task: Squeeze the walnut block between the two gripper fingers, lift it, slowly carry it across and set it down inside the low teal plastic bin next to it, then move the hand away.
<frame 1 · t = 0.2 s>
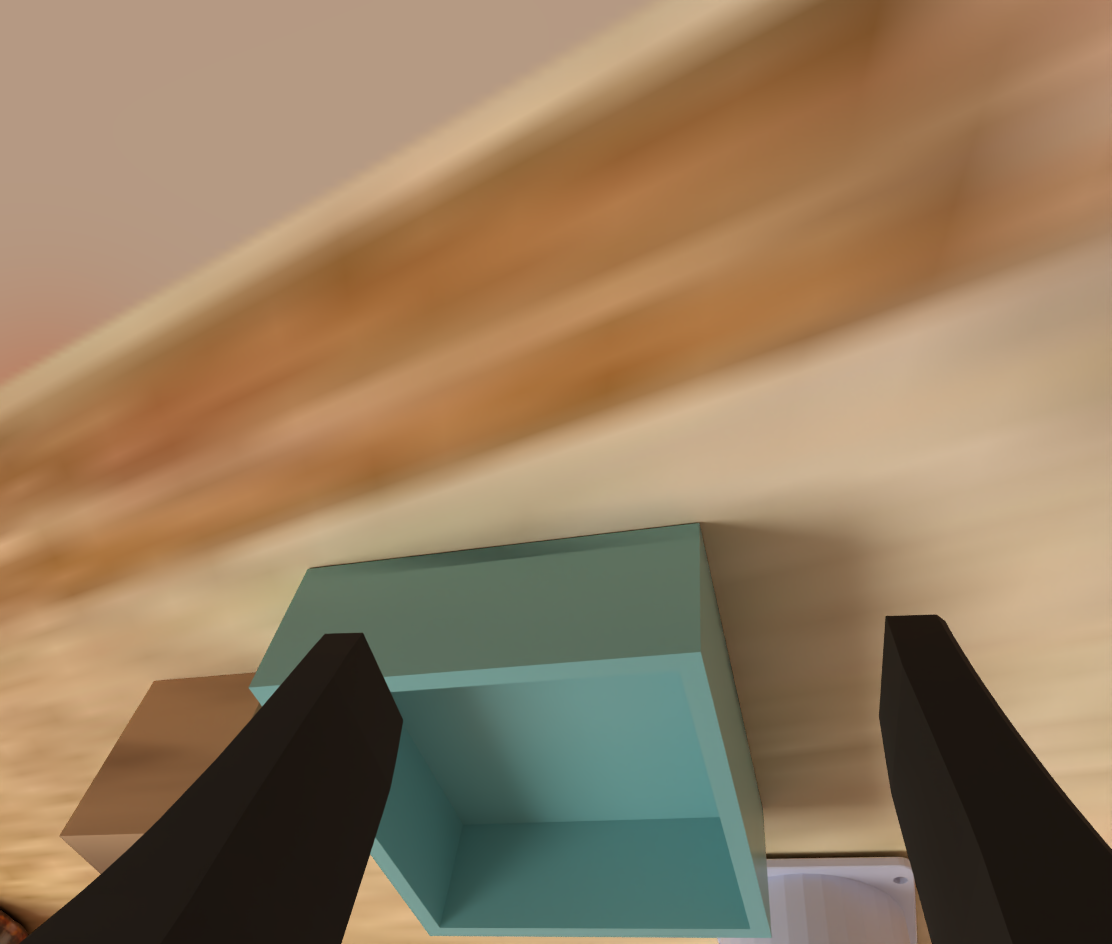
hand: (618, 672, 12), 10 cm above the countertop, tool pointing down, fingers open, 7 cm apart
walnut block: (246, 718, 32), on the countertop
teal bin: (554, 699, 29), on the countertop
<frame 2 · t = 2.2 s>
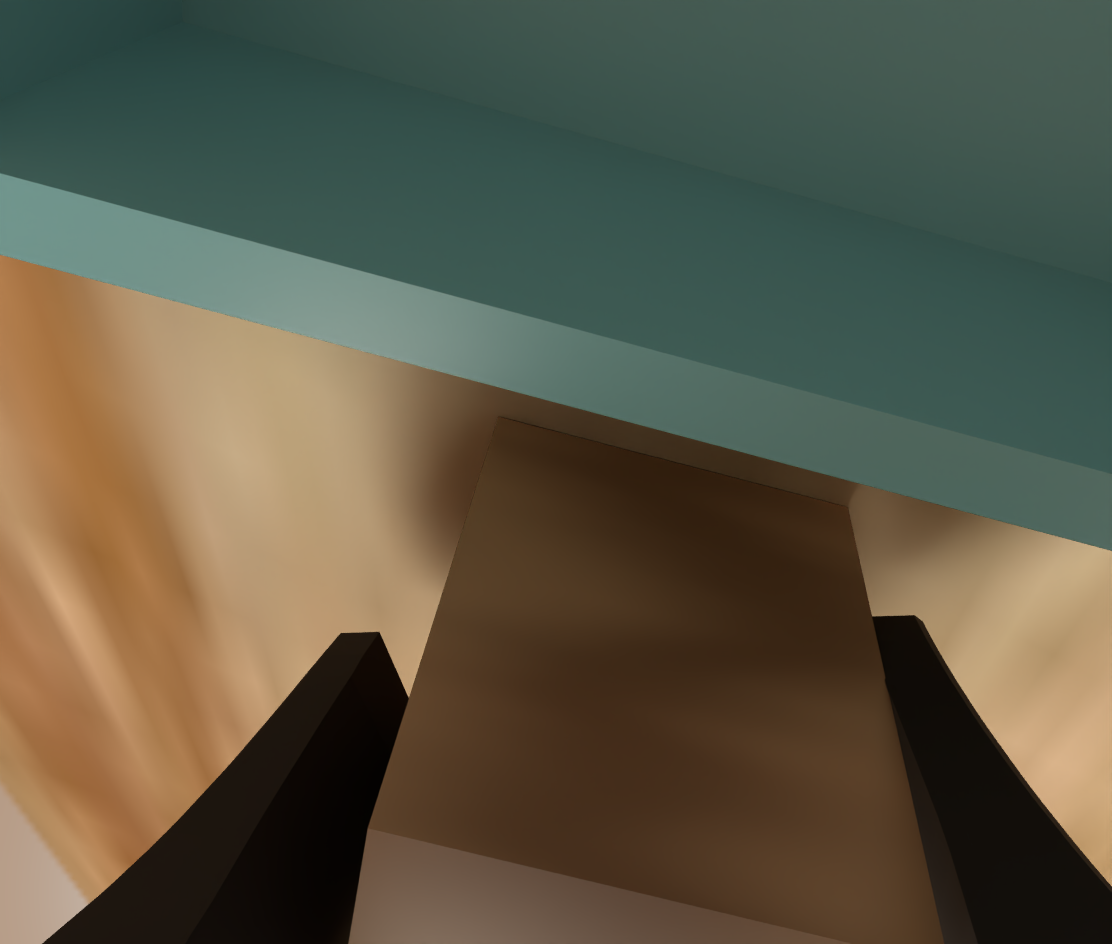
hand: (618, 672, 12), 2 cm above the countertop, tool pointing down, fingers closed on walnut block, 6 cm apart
walnut block: (625, 584, 13), on the countertop, touching gripper
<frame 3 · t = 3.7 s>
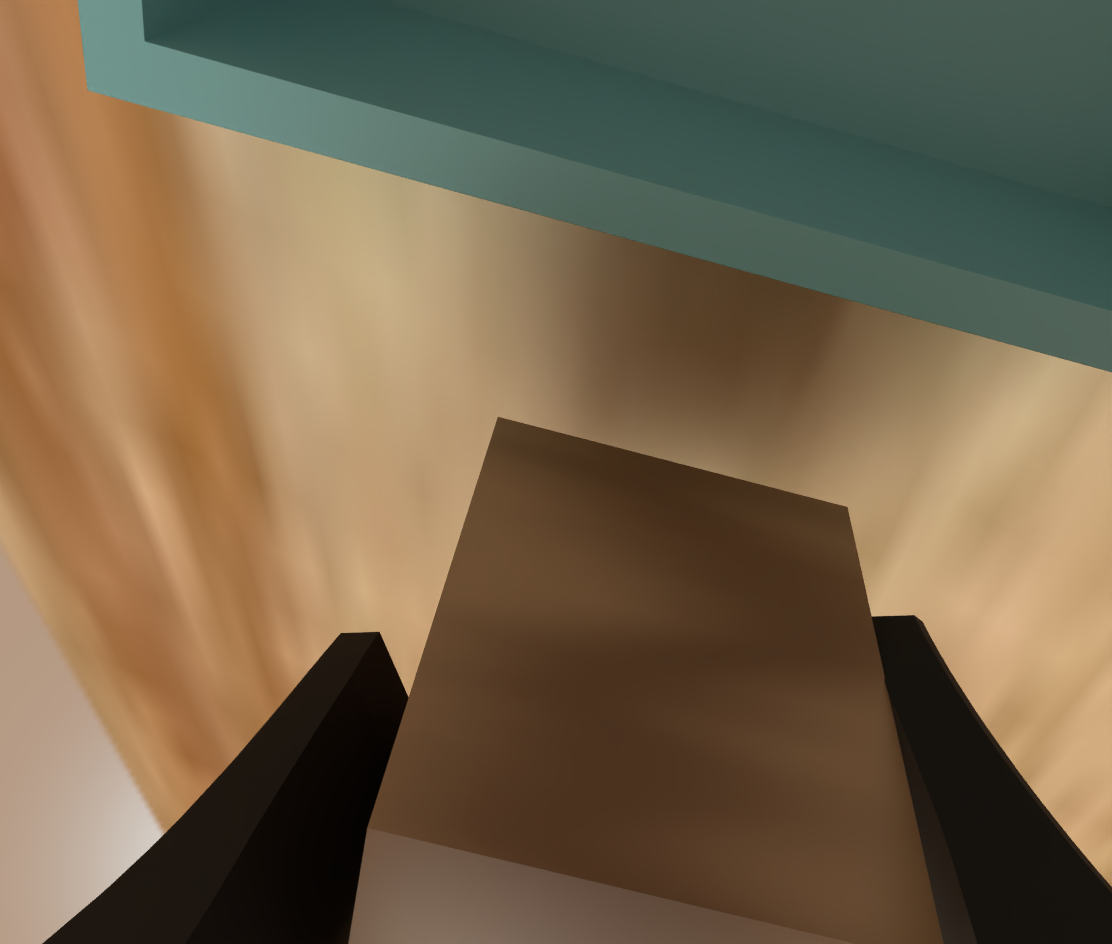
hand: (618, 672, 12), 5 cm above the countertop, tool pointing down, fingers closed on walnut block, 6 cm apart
walnut block: (625, 584, 13), point 3 cm above the countertop, touching gripper
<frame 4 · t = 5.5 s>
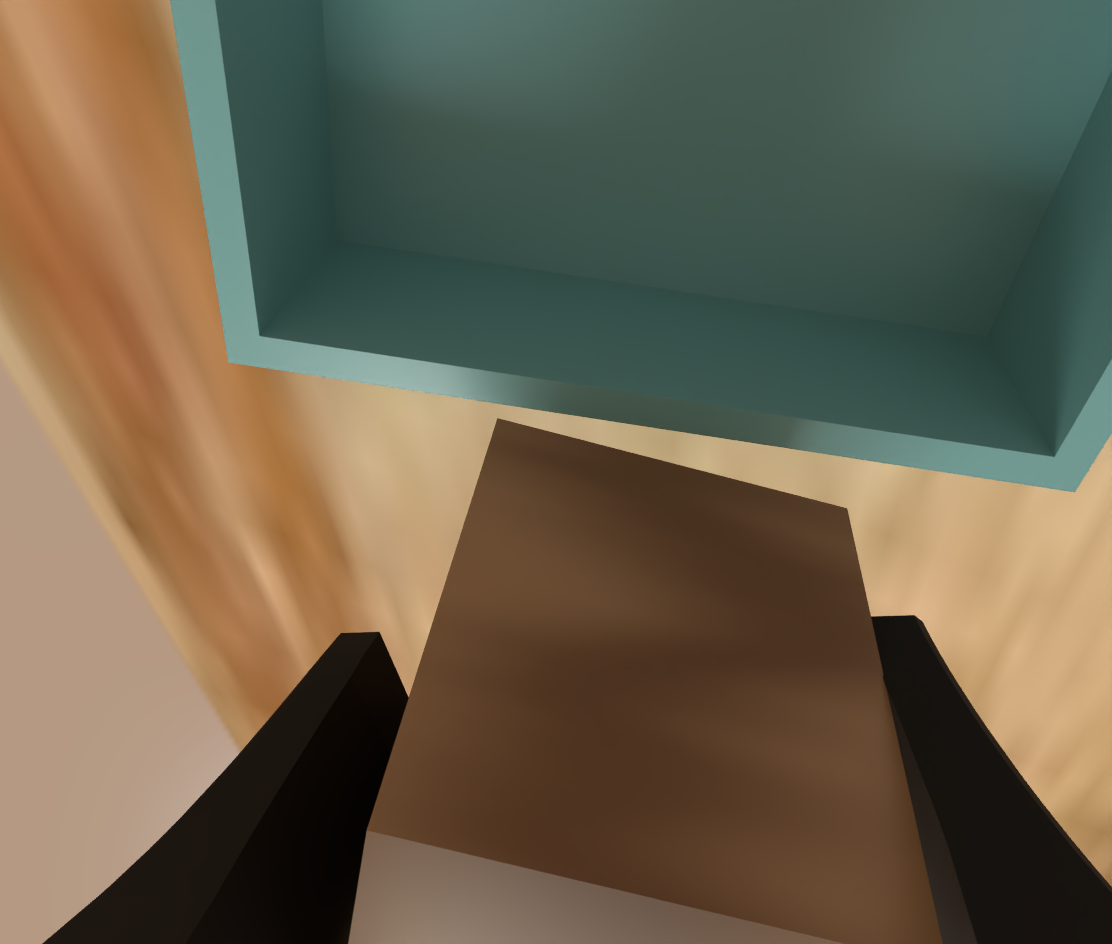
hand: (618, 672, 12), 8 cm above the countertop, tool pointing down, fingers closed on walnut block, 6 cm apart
walnut block: (625, 585, 13), point 7 cm above the countertop, touching gripper
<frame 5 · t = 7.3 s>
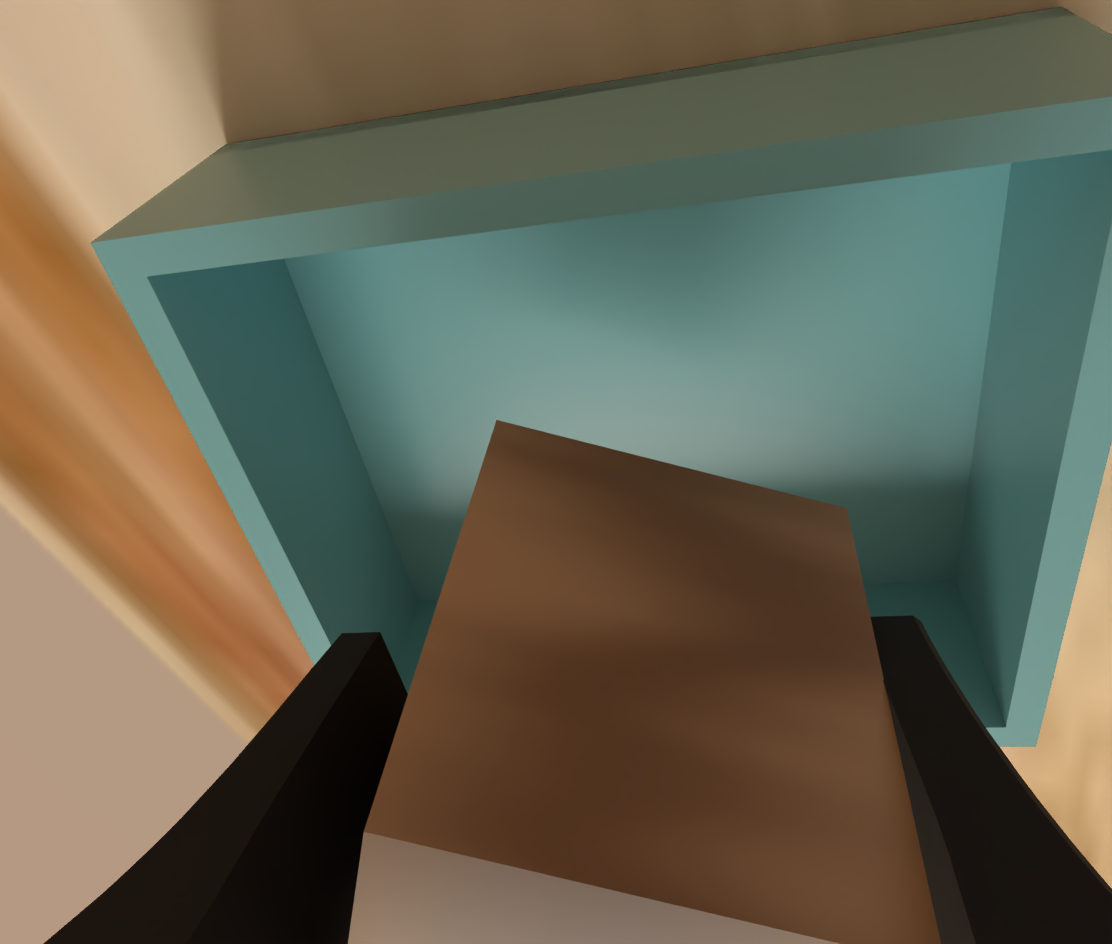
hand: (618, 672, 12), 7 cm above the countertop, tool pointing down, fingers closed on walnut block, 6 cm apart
walnut block: (625, 586, 13), point 6 cm above the countertop, touching gripper
teal bin: (643, 387, 18), on the countertop
when the fingers open (4 cm above the countertop, at t = 8.7 s): walnut block drops 2 cm, resting on teal bin.
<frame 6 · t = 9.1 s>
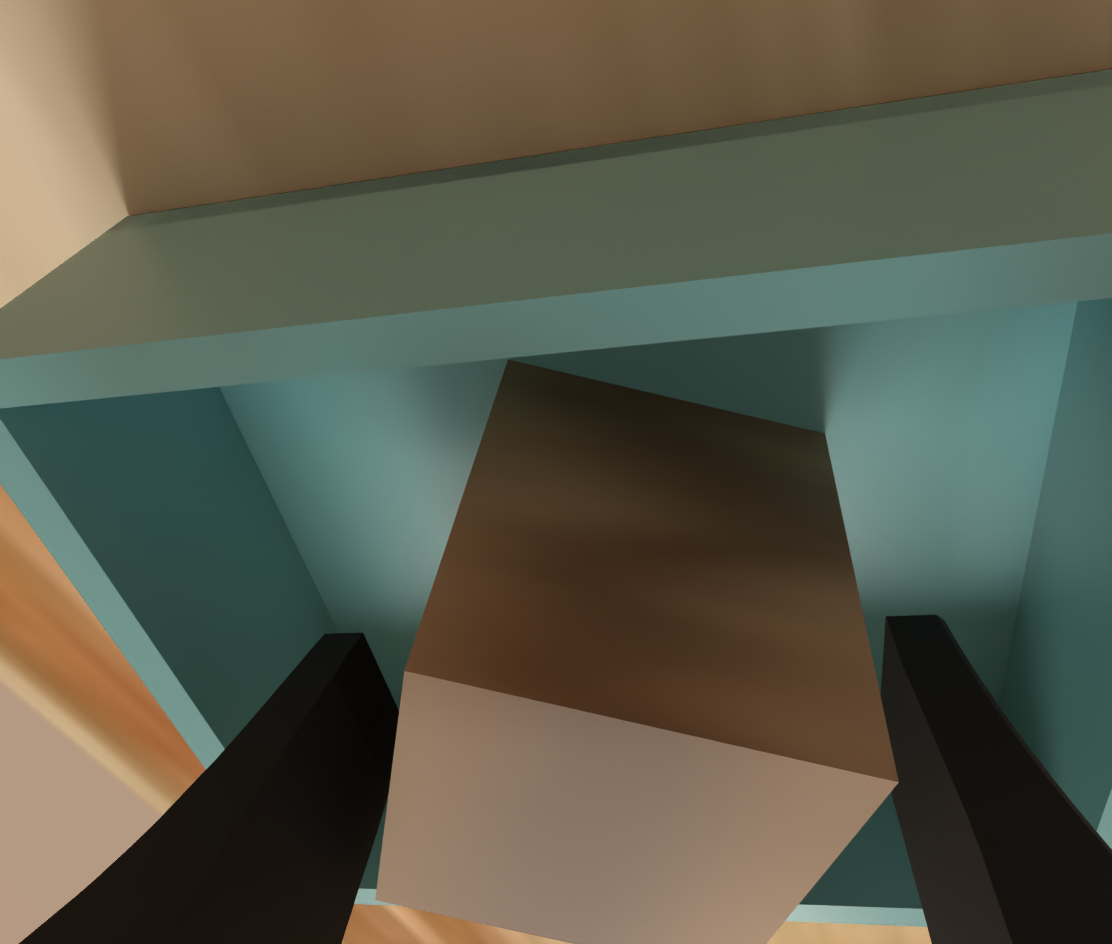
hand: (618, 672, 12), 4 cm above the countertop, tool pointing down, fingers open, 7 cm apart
walnut block: (627, 515, 15), point 1 cm above the countertop, touching teal bin
teal bin: (633, 492, 15), on the countertop
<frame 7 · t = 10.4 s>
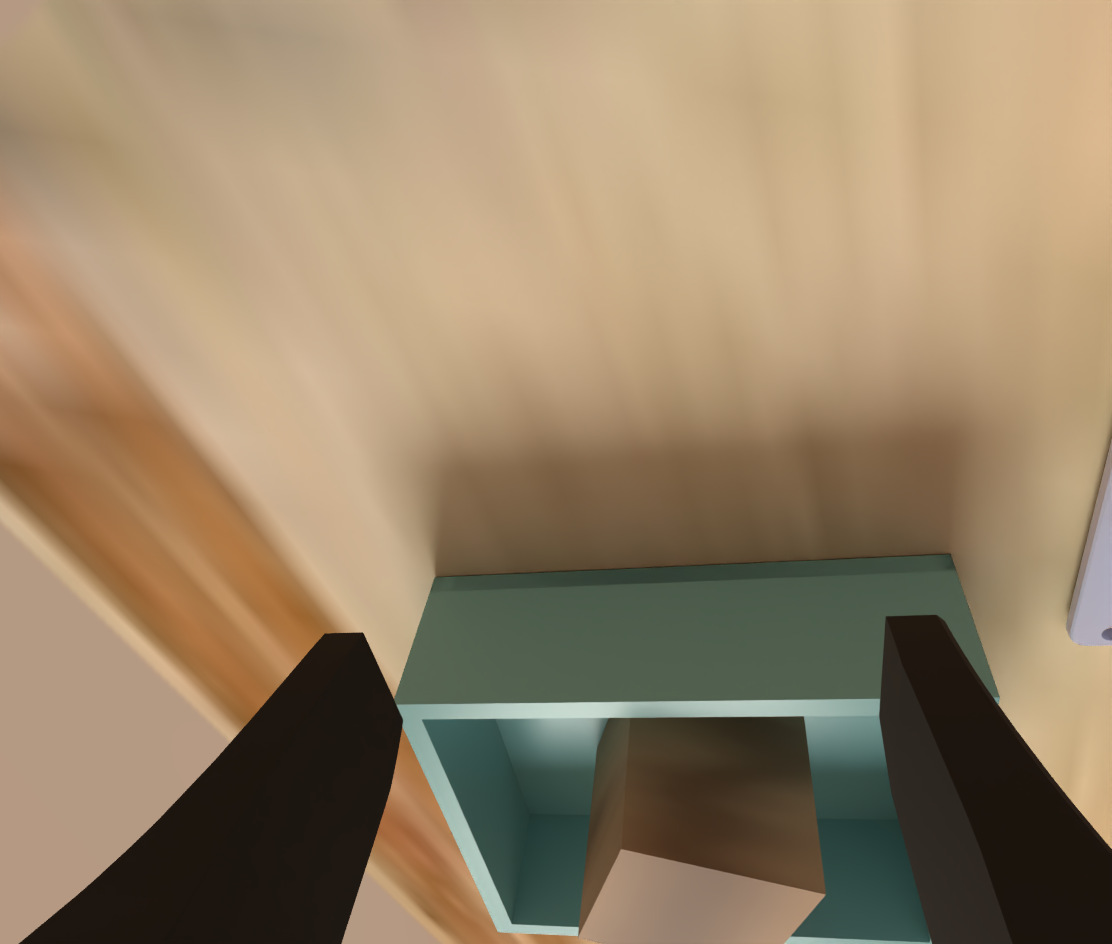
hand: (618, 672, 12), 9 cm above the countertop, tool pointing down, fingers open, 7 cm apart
walnut block: (693, 720, 27), point 1 cm above the countertop, touching teal bin
teal bin: (695, 704, 27), on the countertop
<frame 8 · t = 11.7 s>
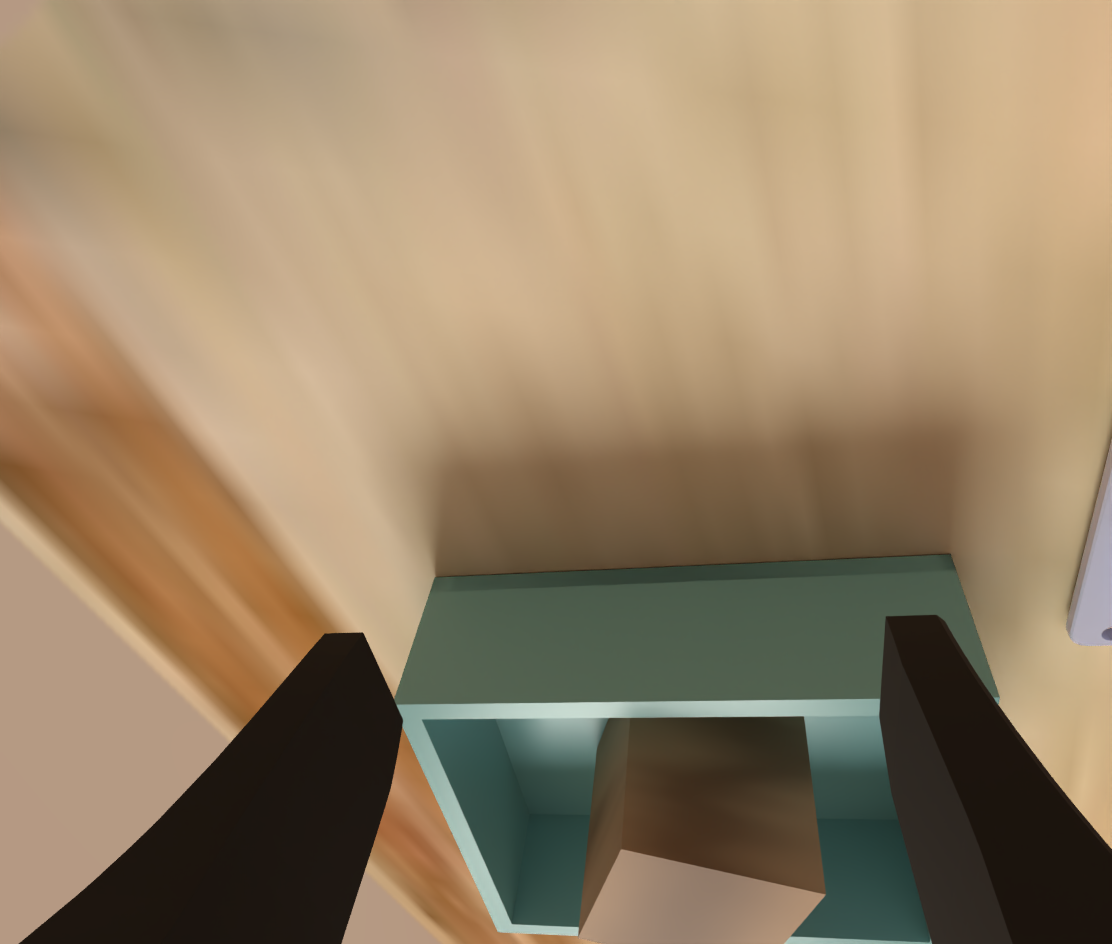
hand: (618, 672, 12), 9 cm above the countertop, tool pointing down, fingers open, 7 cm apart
walnut block: (693, 720, 27), point 1 cm above the countertop, touching teal bin
teal bin: (695, 704, 27), on the countertop
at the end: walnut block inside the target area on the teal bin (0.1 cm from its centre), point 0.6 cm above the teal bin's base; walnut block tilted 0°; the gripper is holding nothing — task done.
